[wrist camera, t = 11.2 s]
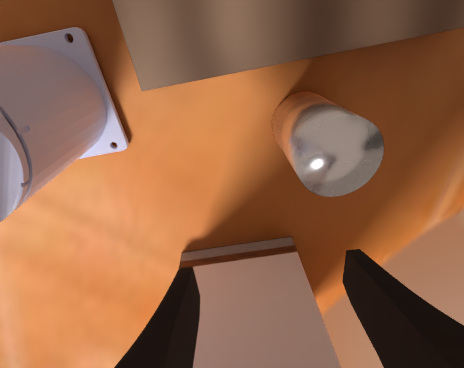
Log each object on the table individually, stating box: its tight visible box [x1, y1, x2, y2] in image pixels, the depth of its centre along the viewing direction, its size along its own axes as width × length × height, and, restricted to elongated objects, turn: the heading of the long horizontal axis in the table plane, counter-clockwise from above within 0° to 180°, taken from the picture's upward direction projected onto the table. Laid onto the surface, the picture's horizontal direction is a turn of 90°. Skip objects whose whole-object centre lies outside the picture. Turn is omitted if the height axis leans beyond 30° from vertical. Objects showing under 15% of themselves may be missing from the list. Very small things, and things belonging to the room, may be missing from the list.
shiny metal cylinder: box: [272, 92, 384, 197], centre depth 17 cm, size 4×4×7 cm
